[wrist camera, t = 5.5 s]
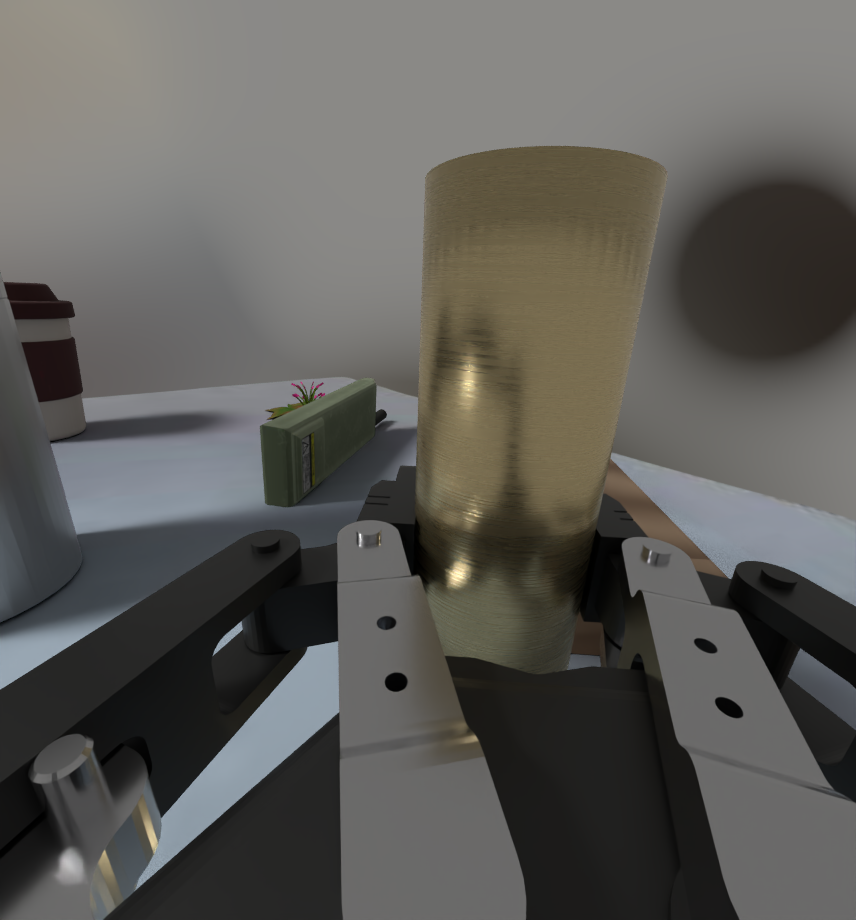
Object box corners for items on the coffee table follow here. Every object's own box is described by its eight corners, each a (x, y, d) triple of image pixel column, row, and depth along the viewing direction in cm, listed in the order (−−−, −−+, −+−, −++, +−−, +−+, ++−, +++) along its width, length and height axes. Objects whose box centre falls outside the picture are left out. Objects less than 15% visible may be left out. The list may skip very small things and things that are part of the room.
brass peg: (378, 776, 14) (376, 190, 8) (486, 724, 16) (549, 217, 10) (440, 942, 11) (517, 112, 5) (571, 850, 13) (745, 178, 7)
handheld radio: (257, 506, 33) (369, 422, 56) (296, 513, 32) (393, 425, 55) (250, 422, 30) (370, 370, 53) (293, 429, 30) (395, 373, 53)
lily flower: (285, 435, 50) (282, 396, 48) (249, 413, 58) (245, 379, 57) (371, 420, 57) (371, 386, 56) (328, 402, 66) (327, 372, 64)
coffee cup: (-37, 436, 44) (-95, 277, 38) (77, 417, 52) (42, 283, 46) (0, 457, 39) (-59, 279, 34) (119, 432, 47) (86, 285, 42)
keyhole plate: (733, 665, 19) (756, 606, 18) (426, 642, 20) (429, 584, 19) (596, 486, 38) (603, 451, 37) (439, 476, 39) (441, 442, 37)
